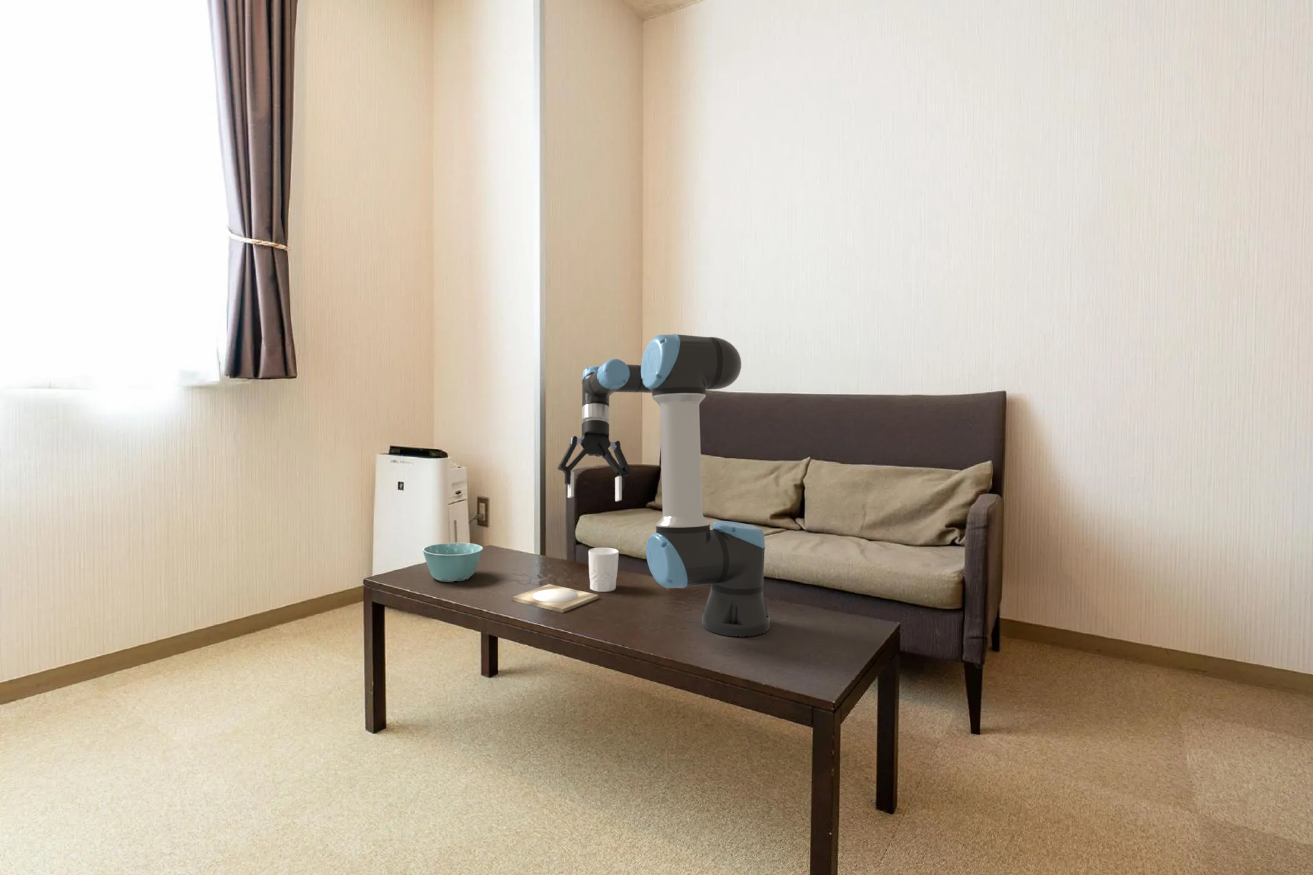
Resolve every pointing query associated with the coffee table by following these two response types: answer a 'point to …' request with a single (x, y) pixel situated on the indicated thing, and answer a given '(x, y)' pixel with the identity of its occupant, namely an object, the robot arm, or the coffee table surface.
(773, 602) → the coffee table surface
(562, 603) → the coaster board
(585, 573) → the coffee table surface
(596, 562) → the white cup
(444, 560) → the bowl
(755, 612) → the robot arm
